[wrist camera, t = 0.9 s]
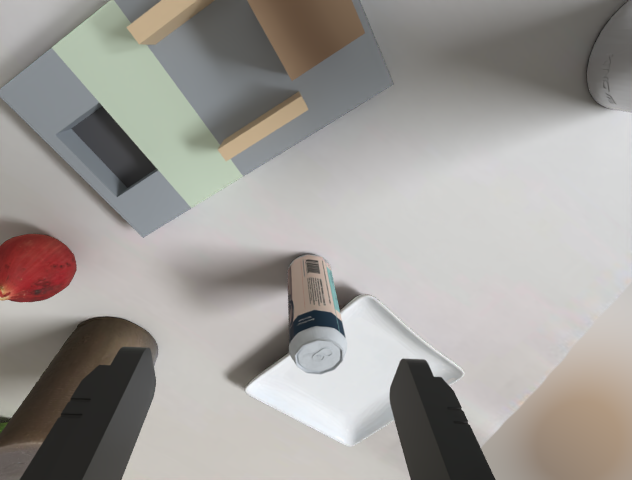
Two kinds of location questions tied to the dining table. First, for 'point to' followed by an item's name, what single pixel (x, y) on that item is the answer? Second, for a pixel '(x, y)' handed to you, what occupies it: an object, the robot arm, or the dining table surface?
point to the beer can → (314, 316)
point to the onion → (34, 268)
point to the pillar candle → (64, 386)
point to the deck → (181, 100)
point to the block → (307, 29)
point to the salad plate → (351, 376)
